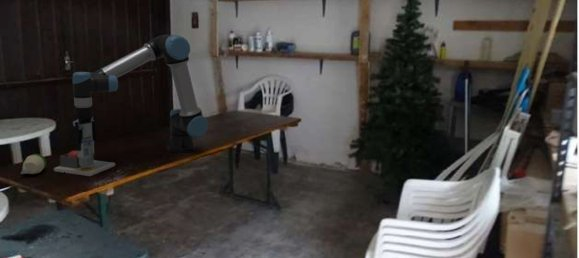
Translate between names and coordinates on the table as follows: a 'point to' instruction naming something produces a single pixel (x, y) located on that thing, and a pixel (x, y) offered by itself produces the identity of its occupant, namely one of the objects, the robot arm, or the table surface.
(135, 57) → the robot arm
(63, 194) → the table surface
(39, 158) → the cartoon head
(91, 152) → the spray paint can
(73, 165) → the tray with gray block
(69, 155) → the red dome
